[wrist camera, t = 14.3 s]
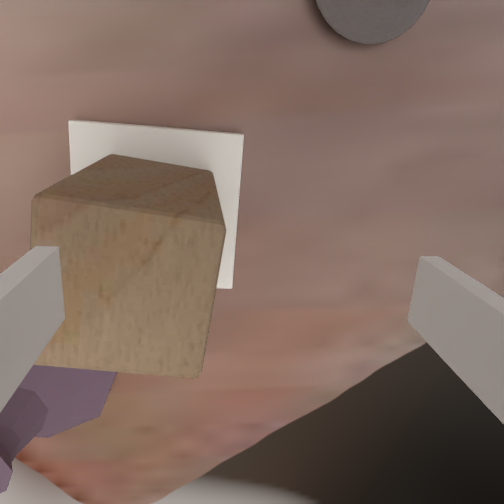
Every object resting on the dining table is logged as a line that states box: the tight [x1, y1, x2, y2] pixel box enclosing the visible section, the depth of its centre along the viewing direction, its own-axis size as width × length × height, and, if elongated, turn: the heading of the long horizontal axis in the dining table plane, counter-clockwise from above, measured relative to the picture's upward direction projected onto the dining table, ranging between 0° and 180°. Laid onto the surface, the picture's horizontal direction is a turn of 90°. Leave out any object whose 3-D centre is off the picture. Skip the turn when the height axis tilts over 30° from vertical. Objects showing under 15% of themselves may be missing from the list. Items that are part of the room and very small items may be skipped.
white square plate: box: [68, 120, 244, 289], centre depth 43 cm, size 16×16×3 cm
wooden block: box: [30, 154, 226, 378], centre depth 33 cm, size 10×10×20 cm
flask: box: [0, 365, 117, 493], centre depth 39 cm, size 16×16×20 cm
